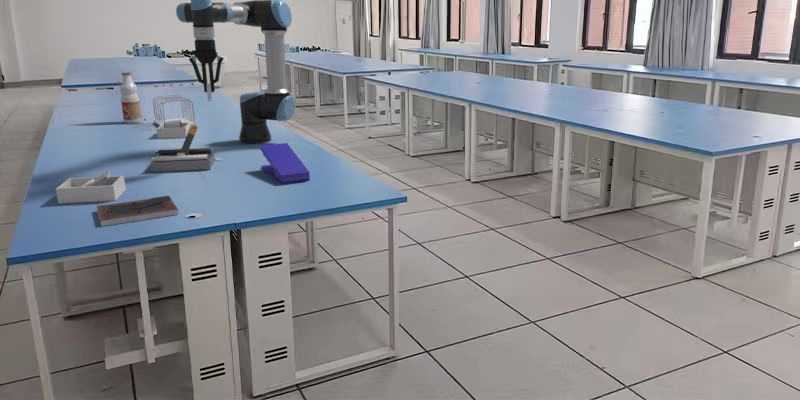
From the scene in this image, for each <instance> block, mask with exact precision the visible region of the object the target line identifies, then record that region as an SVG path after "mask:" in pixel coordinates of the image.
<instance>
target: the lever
mask: <svg viewBox="0 0 800 400" xmlns="http://www.w3.org/2000/svg"><path fill="white" fill-rule="evenodd" d="M198 129H199V127H198V126H197V127H196V126H193V125H191V127H190V128H189V131H188V134H187V136H186V138H184V141H183V144H182V147H181V148H182V149H181V151H182V153H185V154H186V153H187V152H188V150H189V149H191V148H190V147H191V144H192V143H193V141H194V138H195V136H196V134H197V131H198Z"/></svg>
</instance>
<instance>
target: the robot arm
mask: <svg viewBox="0 0 800 400" xmlns="http://www.w3.org/2000/svg"><path fill="white" fill-rule="evenodd" d="M175 11H176V14H175V15H176V18H177V20H179V22H182V23H187V24H188V23H192V27H193V31H192V32H193V38H194V47H195V51H194V55H193V56H191V57H189V62H190V64H191V65H192V67H193V69H194V72H195V76H196V79H197V81H198V83H201V84H203V91H204V93H207V101H208V102H213V100H214V98H213V93H215V90H216V89H215V88H216V87H215V84H216V83H218V82H219V80H220V74H221V67H222V62H223V61H224V57H223V56H220V55H219V54H218V52H217V49H216V40H215V39H214V38H215V28H214V27H215V26H214V24H215V23H224V24H225V23H234V24H235V25H238V26H242V25H243V26H248V27H249V26H250V27H254V28H255V27H256V28H260V31H261V33H262V34H263V35H264V44H265V65H266V67H265V68H266V82H267V83H266V84H267V86H266V87H267V88H266V89H265V90H264V91H254V92H247V93H243V94H241V95H240V96H239V105H240V106H239V107H240V117H241V118H240V119H241V128H240V132H239V136H238V139H239V142H240V143H243V144H260V143H261V144H262V143H267V142H269V141H272V134H271V132H270V128H269V126H268V123H267V121H277V122H283V121H284V122H286V121H289V120H291V118H292V117H293V116H294V113H295V110H296V100H295V98H294V97H293V96H292V95H291V94H290V93H291V92H290V90H289V89H288V88H287V77H286V73H287V72H286V56H285V55H286V54H285V52H286V51H285V34H287V32H288V28H289V27H290V26H291V24H292V20H293V17H292V16H293V15H292V11H291V8H290V7H289V5H288V4H287V2H285V1H284V0H248V1H241V2H239V1H238V2H234V3H232V4H230V3H227V2H222V1H221V2H220V1H219V2H212V0H190V2H181V3H179V4H178V5H176V9H175ZM197 60H198V62H199V63H200V66H201V72H202V75H201V73H200V69H199V67H198V64H197ZM215 60H216V61H217V64H216V71H215V76H214V65H213V63H214V61H215ZM207 65H208V73H209V75H208V73H207V67H206V66H207ZM207 75H208V76H209V83H208V77H207Z"/></svg>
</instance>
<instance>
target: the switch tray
mask: <svg viewBox="0 0 800 400" xmlns="http://www.w3.org/2000/svg"><path fill="white" fill-rule="evenodd" d="M97 177H98V176H88V177H87V176H85V177H84V176H83V177H69V178H68V179H67V180H65V181H64V182H63V183H61V184H60V185H58V186H57V187H56V188H55V192H56V193H55V194H56V198H57V204H75V203H93V202H96V203H97V202H114V201H117V200H118V199H119V198H120V196H121V195H122V194H123V193H124V192H125V191H126V183H125V176H124V175H110V177H109V179H107V180H106V181H104V182H102V183H101V184H99V185H97V186H90V187H82V185H84V184H85V183H87V182H88V181H90V180H91V179H96V178H97Z"/></svg>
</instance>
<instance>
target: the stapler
mask: <svg viewBox="0 0 800 400" xmlns="http://www.w3.org/2000/svg"><path fill="white" fill-rule="evenodd" d="M260 151H261V153H262V155H263V157H264V158H265V159H266V160H267V162H268V163H269V164H267V165H266V164H265V165H260V166H261V169H262V170H264V171H265V172H266V173H268V174H269V175H270V176H271V177H273V178H274V179H276V180H277V181H279V182H280V183H282V184H283V185H288V184H293V183H301V182H308V181H311V178H310V171H309V170H308V168H307V167H306V166H305V165H304V163H303V162H302V160H301V159H300V157H298V155H297V154H296V152H294V150H293V149H292V147H291V146H290V145H289V143H288V142H285V143H274V144H264V145H262V144H261V145H260Z"/></svg>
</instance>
